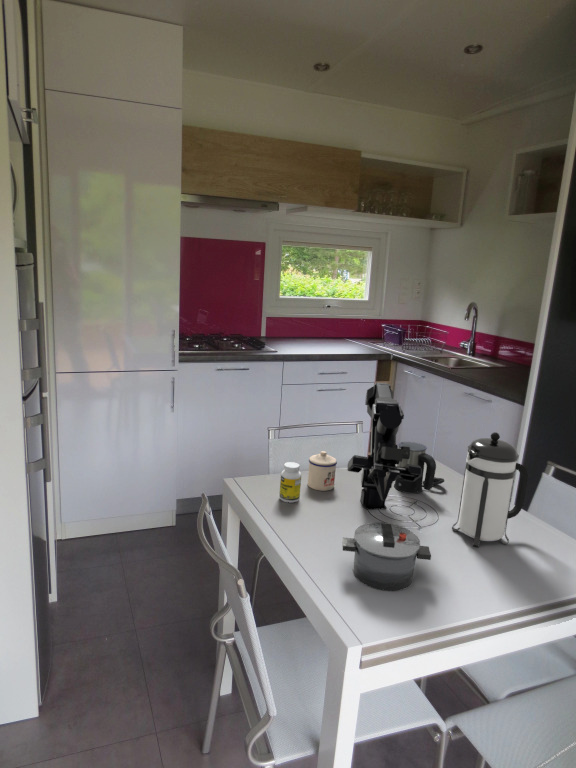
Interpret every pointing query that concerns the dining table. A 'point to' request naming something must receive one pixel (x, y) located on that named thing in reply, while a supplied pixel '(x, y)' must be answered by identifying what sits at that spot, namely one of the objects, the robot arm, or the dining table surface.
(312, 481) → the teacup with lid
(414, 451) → the milk frother
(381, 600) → the dining table surface
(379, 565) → the steel pot
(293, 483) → the pill bottle
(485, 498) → the coffee press
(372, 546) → the pot lid
